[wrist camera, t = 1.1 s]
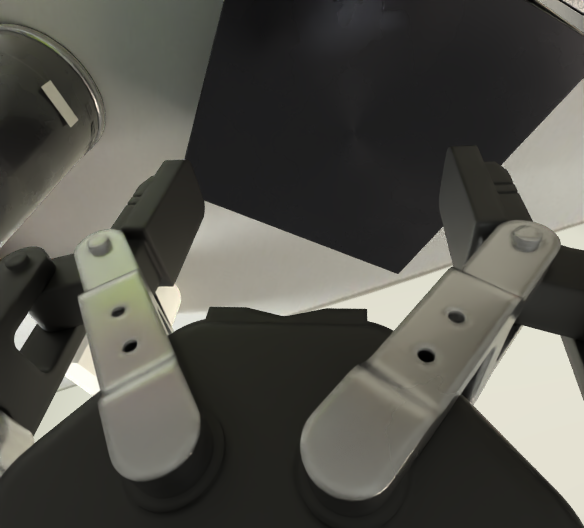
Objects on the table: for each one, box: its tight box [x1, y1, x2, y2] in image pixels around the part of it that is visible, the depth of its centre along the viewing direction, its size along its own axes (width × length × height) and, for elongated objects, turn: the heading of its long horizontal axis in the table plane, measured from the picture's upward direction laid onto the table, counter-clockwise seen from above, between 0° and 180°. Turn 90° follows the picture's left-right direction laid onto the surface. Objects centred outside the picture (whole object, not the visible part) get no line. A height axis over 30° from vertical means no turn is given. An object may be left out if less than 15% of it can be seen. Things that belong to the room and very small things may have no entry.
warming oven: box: [184, 0, 584, 274], centre depth 23 cm, size 16×16×9 cm
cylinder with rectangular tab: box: [65, 284, 181, 396], centre depth 41 cm, size 9×9×12 cm
